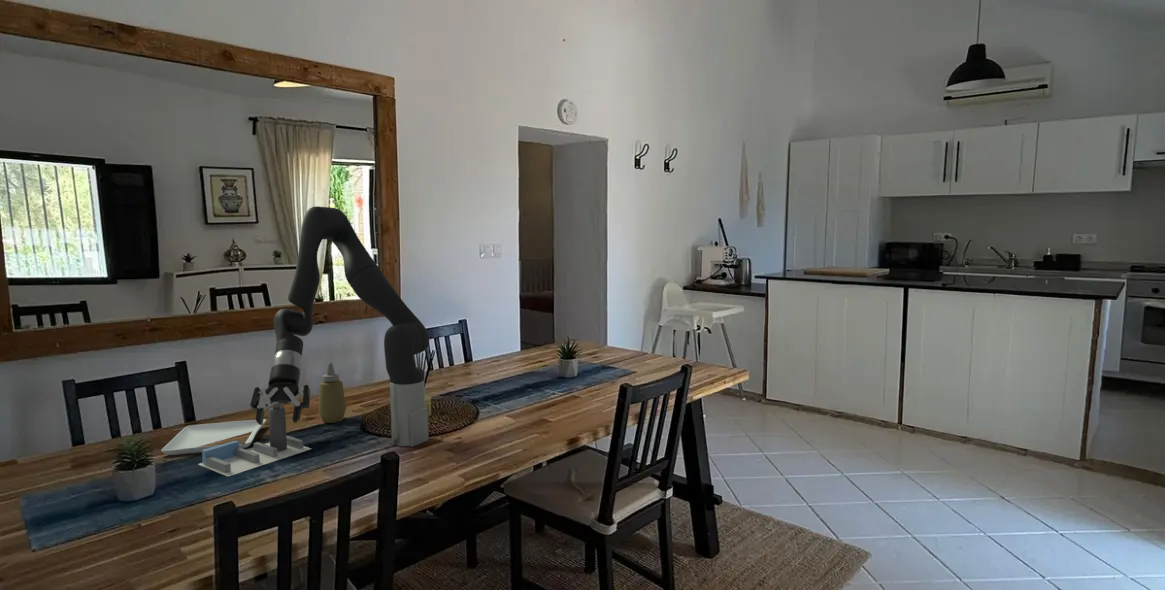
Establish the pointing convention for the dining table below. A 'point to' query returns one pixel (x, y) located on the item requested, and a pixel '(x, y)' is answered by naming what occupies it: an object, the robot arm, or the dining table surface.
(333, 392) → the squeeze bottle
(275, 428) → the dark grey bottle
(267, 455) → the divider rack
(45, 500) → the dining table surface
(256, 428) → the salad plate
